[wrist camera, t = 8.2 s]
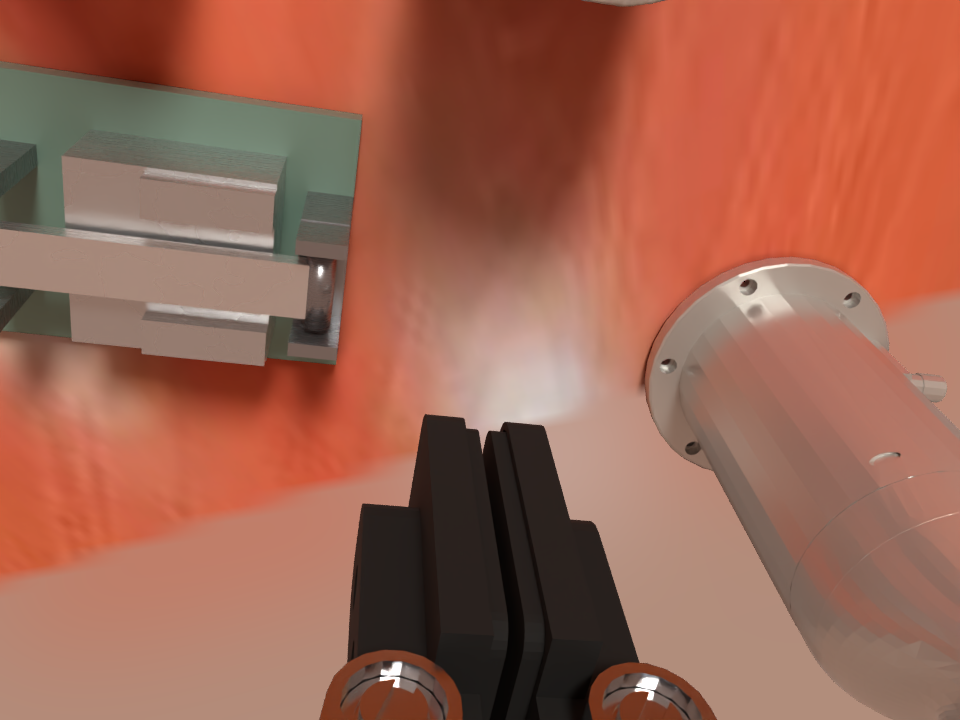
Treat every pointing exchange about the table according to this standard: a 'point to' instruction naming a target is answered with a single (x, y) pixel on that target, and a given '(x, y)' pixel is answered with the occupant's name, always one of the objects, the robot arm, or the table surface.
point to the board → (170, 116)
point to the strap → (167, 272)
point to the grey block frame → (185, 238)
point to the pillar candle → (624, 2)
